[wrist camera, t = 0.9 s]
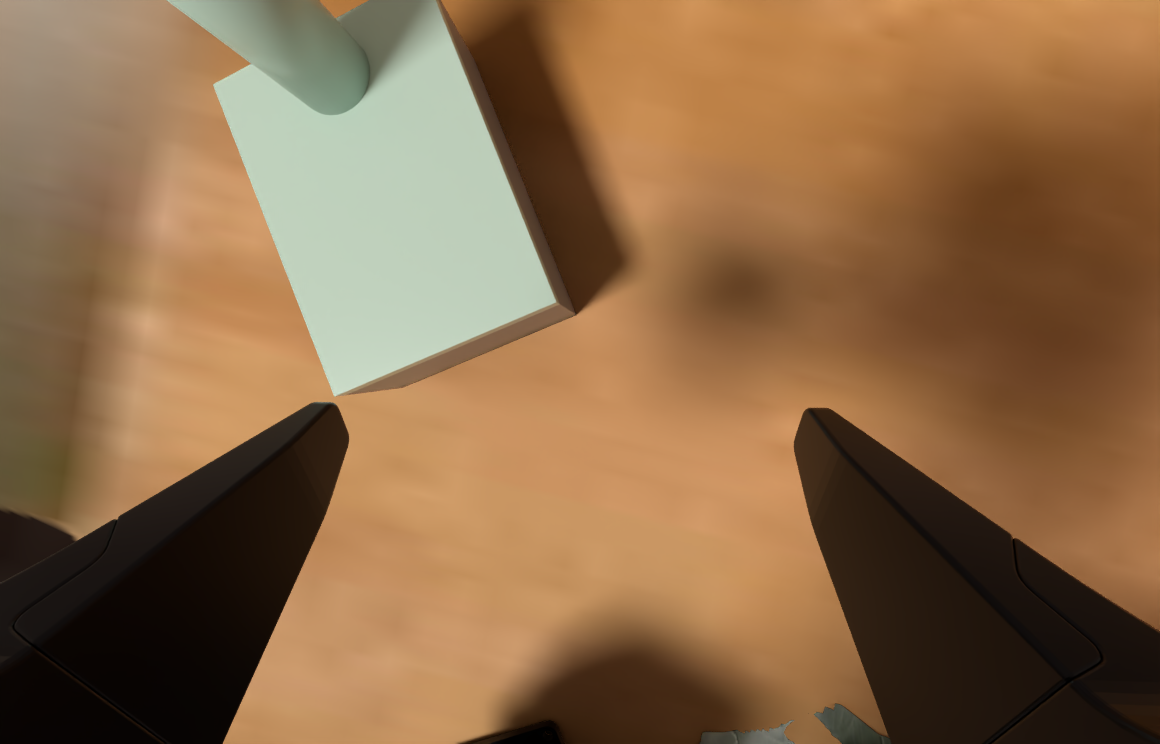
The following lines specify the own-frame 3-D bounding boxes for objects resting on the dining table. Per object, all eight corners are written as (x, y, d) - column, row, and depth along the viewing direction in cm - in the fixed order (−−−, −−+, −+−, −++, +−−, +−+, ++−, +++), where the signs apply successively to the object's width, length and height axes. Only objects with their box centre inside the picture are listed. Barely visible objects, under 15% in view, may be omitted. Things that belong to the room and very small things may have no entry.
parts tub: (402, 387, 26) (345, 395, 21) (306, 143, 26) (228, 94, 21) (576, 314, 25) (559, 304, 20) (474, 59, 25) (432, -15, 20)
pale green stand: (351, 394, 22) (136, 422, 12) (236, 99, 22) (-56, -86, 13) (561, 305, 20) (494, 263, 11) (436, -7, 21) (271, -299, 11)
